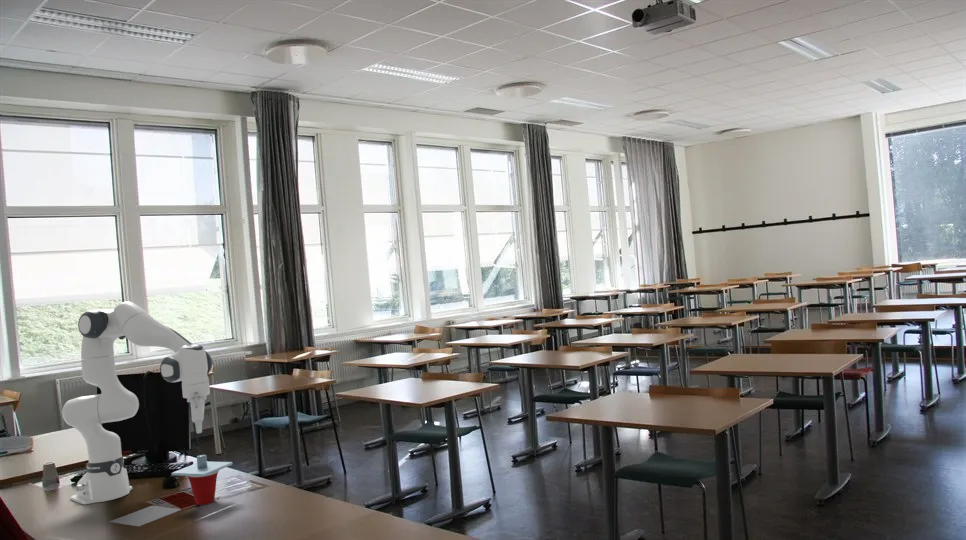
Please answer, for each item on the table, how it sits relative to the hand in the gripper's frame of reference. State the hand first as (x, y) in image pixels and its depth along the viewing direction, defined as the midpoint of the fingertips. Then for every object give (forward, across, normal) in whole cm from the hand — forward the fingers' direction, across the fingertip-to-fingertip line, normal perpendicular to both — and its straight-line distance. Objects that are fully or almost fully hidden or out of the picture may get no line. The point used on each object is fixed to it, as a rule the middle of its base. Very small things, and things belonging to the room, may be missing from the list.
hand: (199, 430), depth 240 cm
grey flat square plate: (+26, -3, +19) cm, 32 cm away
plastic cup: (+26, -1, 0) cm, 26 cm away
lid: (+14, 0, 0) cm, 14 cm away
